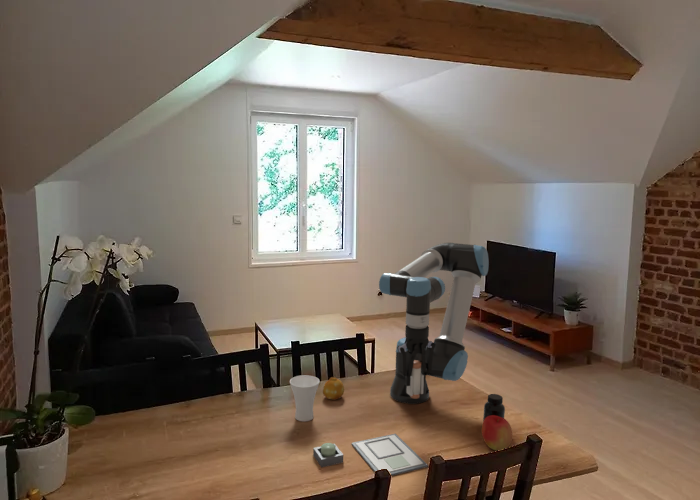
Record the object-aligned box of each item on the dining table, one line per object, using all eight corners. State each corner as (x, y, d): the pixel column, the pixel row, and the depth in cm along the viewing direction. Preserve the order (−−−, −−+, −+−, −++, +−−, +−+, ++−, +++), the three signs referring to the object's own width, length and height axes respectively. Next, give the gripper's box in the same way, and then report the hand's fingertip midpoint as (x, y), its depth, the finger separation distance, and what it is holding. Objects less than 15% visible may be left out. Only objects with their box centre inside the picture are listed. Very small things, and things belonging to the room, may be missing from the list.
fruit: (325, 384, 206) (325, 372, 201) (345, 388, 205) (346, 375, 200) (321, 402, 200) (320, 390, 195) (341, 406, 199) (342, 393, 194)
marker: (407, 395, 173) (408, 361, 171) (416, 393, 175) (417, 359, 173) (412, 399, 170) (414, 364, 168) (422, 397, 172) (423, 363, 170)
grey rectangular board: (351, 444, 166) (351, 441, 166) (395, 435, 173) (395, 432, 173) (380, 478, 148) (380, 475, 148) (427, 466, 155) (428, 463, 154)
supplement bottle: (504, 435, 174) (506, 402, 172) (483, 433, 175) (485, 399, 173) (502, 426, 181) (504, 393, 179) (482, 423, 182) (484, 391, 180)
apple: (478, 452, 163) (480, 422, 162) (482, 438, 172) (484, 409, 171) (510, 459, 160) (512, 428, 158) (512, 444, 169) (514, 415, 167)
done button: (318, 453, 159) (318, 444, 158) (332, 450, 160) (332, 441, 160) (323, 461, 155) (324, 451, 154) (337, 458, 156) (337, 448, 156)
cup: (324, 414, 186) (324, 378, 184) (309, 427, 177) (310, 389, 175) (299, 408, 191) (299, 373, 189) (283, 420, 181) (283, 383, 179)
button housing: (313, 455, 159) (313, 447, 159) (334, 450, 162) (334, 443, 162) (321, 467, 153) (321, 459, 153) (343, 462, 156) (343, 454, 156)
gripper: (400, 331, 162) (398, 402, 166) (445, 325, 168) (442, 393, 172) (389, 324, 169) (387, 392, 172) (432, 319, 175) (429, 384, 179)
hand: (414, 393), depth 172 cm, fingers closed on marker, 3 cm apart
